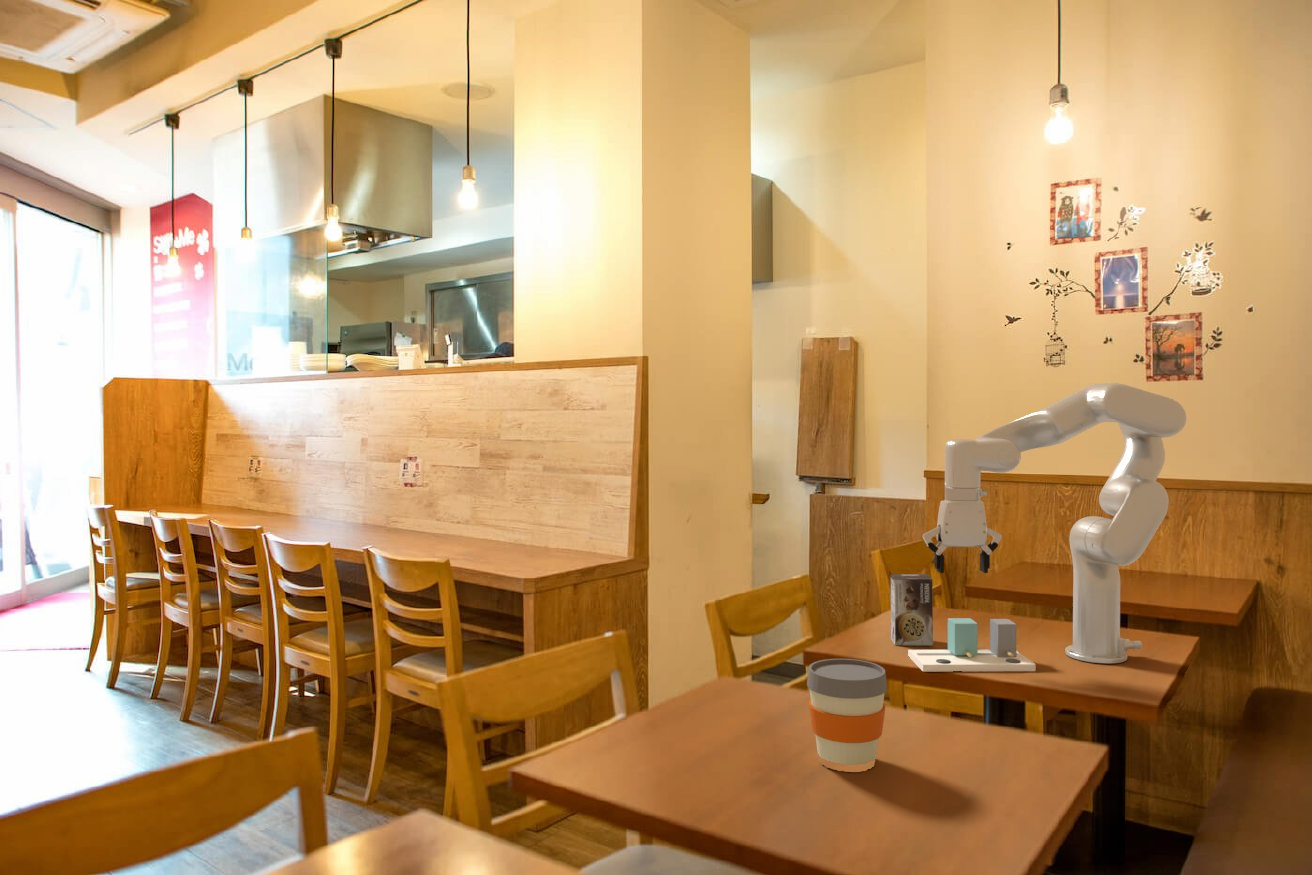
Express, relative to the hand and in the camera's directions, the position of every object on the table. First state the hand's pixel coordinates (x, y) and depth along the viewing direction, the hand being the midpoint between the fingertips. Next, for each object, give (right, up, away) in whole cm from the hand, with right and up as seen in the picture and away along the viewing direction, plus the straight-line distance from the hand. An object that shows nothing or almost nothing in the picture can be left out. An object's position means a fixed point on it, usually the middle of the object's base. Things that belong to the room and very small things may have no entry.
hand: (961, 571), depth 201 cm
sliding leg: (0, -18, -1) cm, 18 cm away
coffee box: (-7, -20, +17) cm, 27 cm away
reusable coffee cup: (-37, -22, -56) cm, 71 cm away
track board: (+1, -20, -1) cm, 20 cm away
